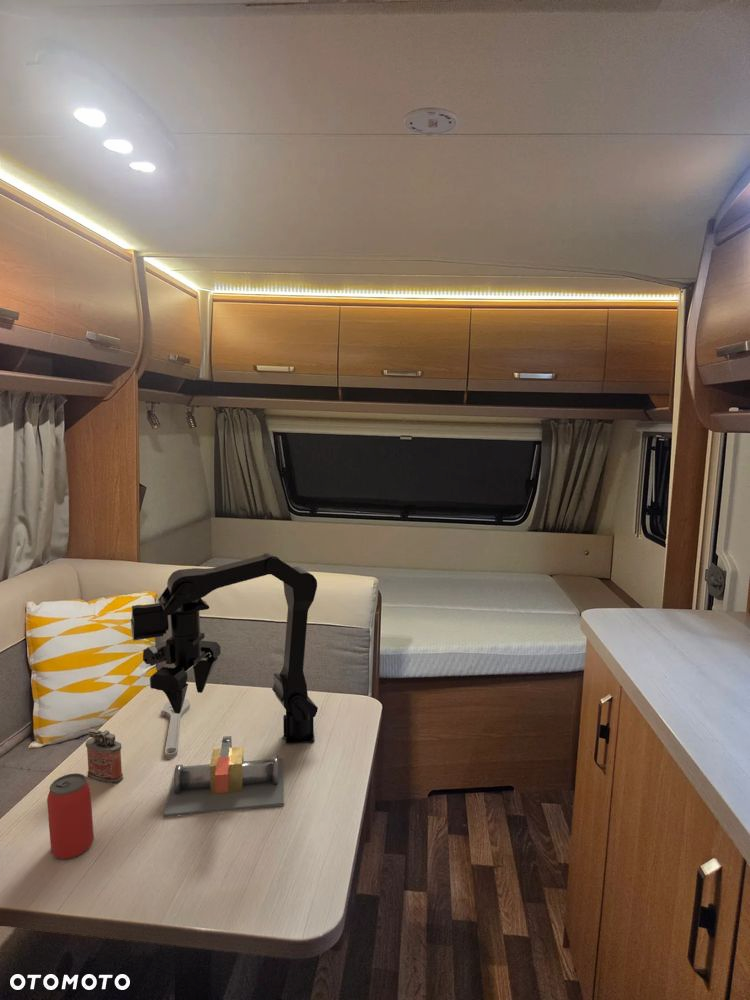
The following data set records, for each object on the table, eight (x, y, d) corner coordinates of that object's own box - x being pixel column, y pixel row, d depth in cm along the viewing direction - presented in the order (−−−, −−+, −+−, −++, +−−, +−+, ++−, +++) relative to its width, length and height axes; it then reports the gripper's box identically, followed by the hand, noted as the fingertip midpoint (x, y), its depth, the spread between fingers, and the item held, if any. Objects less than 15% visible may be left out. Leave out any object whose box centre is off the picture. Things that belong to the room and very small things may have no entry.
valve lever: (222, 751, 119) (221, 735, 118) (233, 750, 119) (232, 734, 119) (215, 793, 106) (214, 775, 105) (228, 791, 106) (227, 774, 106)
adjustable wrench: (177, 759, 128) (177, 752, 128) (146, 762, 127) (146, 755, 127) (191, 704, 153) (191, 697, 152) (165, 706, 152) (165, 699, 151)
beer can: (61, 834, 105) (56, 771, 103) (99, 832, 105) (95, 770, 103) (43, 862, 98) (38, 796, 96) (84, 860, 99) (80, 794, 97)
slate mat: (282, 760, 128) (282, 758, 127) (283, 805, 113) (283, 802, 113) (176, 769, 124) (176, 767, 124) (163, 817, 109) (163, 814, 109)
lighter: (127, 776, 121) (124, 731, 120) (115, 786, 118) (112, 739, 117) (96, 768, 124) (93, 724, 123) (83, 777, 121) (80, 732, 119)
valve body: (278, 773, 123) (277, 743, 122) (278, 791, 117) (278, 760, 116) (178, 782, 120) (177, 752, 119) (173, 801, 114) (172, 769, 113)
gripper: (174, 613, 133) (177, 679, 135) (123, 645, 115) (127, 720, 117) (220, 617, 130) (222, 684, 133) (175, 650, 112) (179, 726, 115)
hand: (189, 702), depth 124 cm, fingers open, 9 cm apart
